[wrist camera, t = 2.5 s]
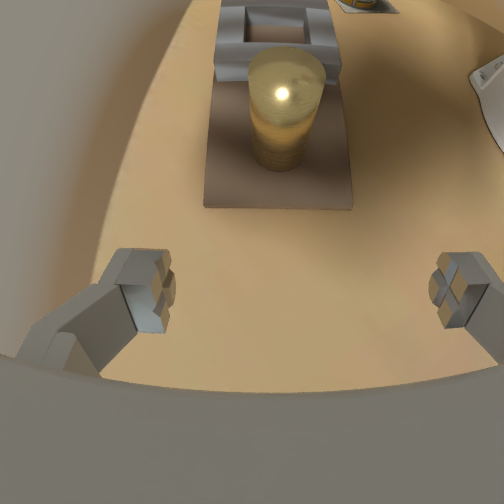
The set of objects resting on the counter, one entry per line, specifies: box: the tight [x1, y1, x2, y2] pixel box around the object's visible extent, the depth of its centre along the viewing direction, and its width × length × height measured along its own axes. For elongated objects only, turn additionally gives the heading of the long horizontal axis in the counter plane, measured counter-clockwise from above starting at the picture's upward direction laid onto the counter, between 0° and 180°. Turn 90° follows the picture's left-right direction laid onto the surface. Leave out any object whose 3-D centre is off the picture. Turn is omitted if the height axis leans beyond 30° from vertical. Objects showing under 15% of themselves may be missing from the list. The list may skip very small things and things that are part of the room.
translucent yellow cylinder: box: [248, 46, 326, 172], centre depth 21 cm, size 4×4×10 cm
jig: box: [203, 0, 353, 210], centre depth 26 cm, size 24×12×4 cm, turn 179°
